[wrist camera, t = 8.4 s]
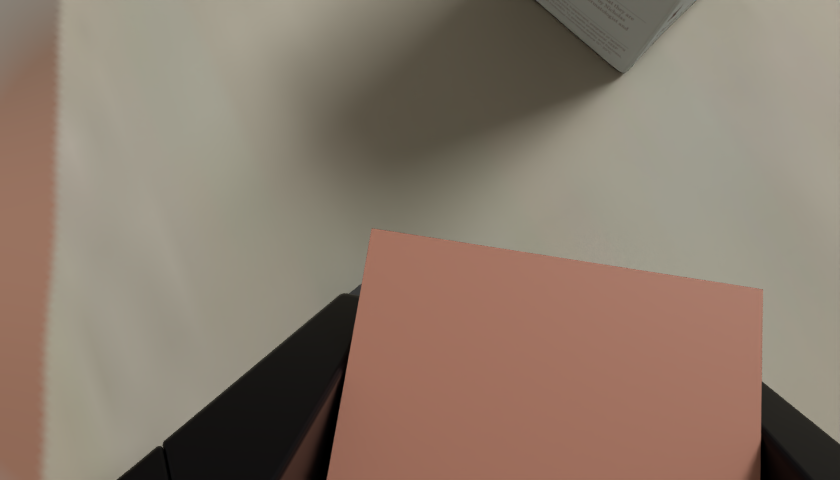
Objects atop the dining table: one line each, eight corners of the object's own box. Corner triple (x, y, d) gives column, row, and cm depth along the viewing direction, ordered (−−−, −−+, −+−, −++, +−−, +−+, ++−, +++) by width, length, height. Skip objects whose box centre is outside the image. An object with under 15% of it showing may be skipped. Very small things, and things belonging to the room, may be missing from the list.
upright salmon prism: (543, 526, 14) (756, 750, 5) (358, 496, 14) (291, 677, 6) (561, 338, 15) (763, 290, 7) (388, 310, 15) (371, 227, 7)
